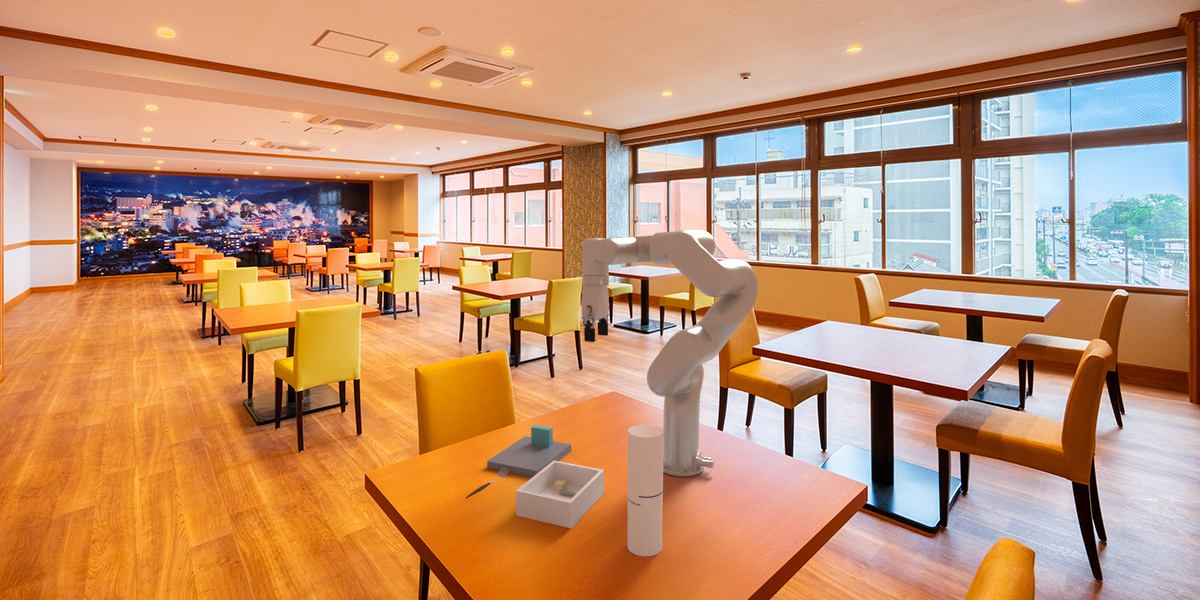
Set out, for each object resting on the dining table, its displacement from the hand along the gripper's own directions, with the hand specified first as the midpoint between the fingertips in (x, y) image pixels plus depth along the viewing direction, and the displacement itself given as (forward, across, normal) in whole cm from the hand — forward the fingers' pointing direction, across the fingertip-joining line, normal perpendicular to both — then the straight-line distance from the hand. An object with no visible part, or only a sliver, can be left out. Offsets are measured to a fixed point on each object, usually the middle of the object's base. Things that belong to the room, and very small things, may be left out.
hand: (596, 338), depth 172 cm
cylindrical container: (+33, +48, +31) cm, 66 cm away
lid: (+32, +19, -12) cm, 39 cm away
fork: (+32, +37, -15) cm, 51 cm away
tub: (+32, +38, +7) cm, 51 cm away
